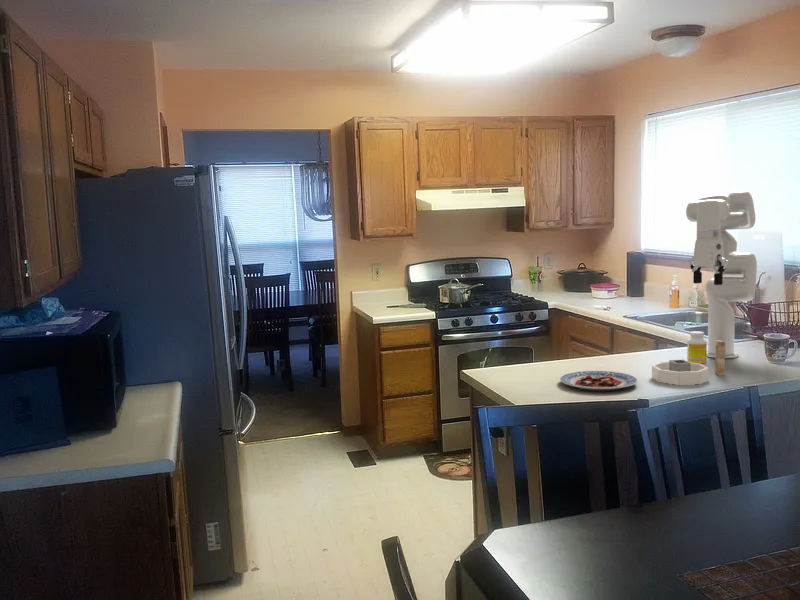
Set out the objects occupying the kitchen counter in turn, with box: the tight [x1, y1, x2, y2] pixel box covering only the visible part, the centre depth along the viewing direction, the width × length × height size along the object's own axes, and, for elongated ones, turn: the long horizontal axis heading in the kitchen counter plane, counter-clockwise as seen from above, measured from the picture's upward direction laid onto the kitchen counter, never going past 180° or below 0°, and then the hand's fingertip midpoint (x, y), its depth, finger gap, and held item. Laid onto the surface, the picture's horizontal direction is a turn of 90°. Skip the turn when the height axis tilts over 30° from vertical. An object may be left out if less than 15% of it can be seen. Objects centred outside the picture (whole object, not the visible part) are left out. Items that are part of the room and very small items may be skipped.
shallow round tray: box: [651, 359, 710, 386], centre depth 234 cm, size 17×17×6 cm
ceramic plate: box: [559, 370, 639, 392], centre depth 233 cm, size 26×26×3 cm
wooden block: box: [714, 340, 726, 376], centre depth 239 cm, size 3×2×12 cm, turn 178°
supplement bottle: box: [686, 330, 708, 367], centre depth 254 cm, size 7×7×13 cm
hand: (707, 284), depth 238 cm, fingers open, 9 cm apart
